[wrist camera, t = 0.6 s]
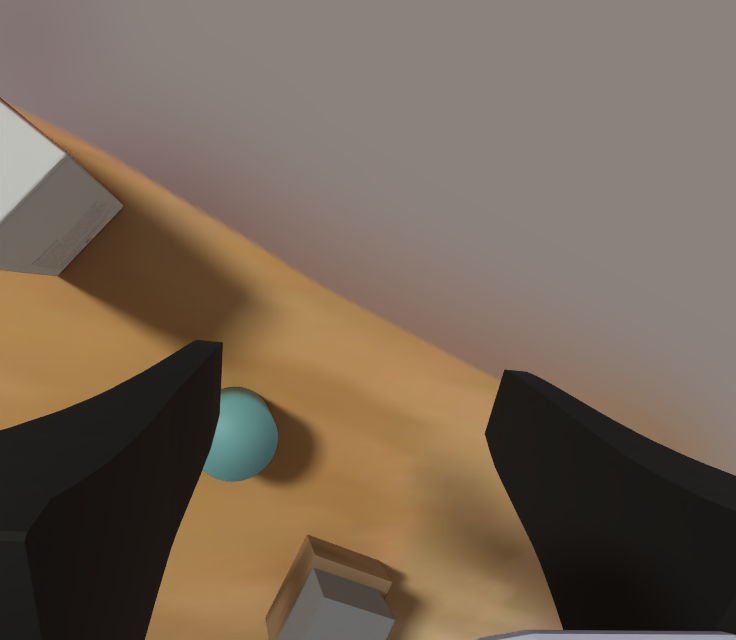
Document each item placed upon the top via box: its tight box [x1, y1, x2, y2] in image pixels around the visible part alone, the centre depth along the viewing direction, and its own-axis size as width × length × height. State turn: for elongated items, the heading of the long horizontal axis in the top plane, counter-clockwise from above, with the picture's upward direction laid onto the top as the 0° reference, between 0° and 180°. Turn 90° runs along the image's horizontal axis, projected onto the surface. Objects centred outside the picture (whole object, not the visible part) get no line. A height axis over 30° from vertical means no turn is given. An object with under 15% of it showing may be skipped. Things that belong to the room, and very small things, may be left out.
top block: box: [278, 567, 395, 640], centre depth 28 cm, size 5×5×3 cm
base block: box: [266, 535, 392, 640], centre depth 31 cm, size 6×6×3 cm
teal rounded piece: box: [203, 387, 278, 482], centre depth 28 cm, size 5×5×4 cm
